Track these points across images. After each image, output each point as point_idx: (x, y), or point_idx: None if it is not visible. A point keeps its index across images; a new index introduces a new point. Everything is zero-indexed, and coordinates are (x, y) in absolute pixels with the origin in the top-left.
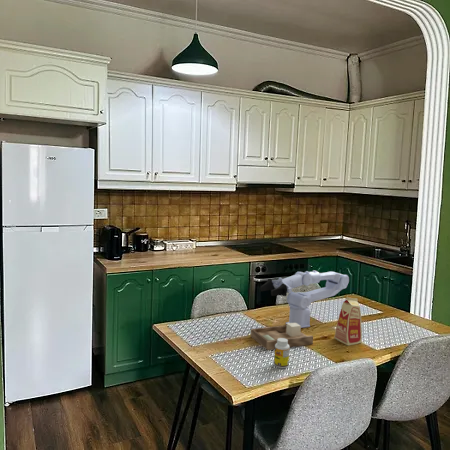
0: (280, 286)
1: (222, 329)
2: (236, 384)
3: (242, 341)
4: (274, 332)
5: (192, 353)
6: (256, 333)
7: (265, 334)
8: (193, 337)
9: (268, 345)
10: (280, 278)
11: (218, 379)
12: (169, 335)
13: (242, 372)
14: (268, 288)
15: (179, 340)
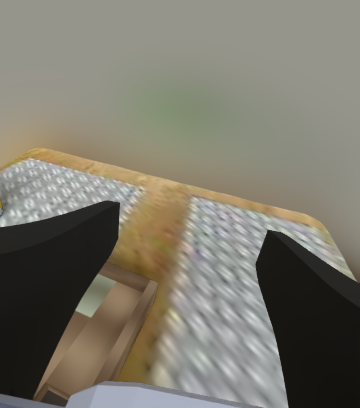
0: (20, 236)
1: (252, 284)
2: (48, 158)
3: (146, 258)
4: (77, 367)
5: (168, 183)
6: (117, 266)
7: (101, 312)
8: (229, 216)
9: None
10: (167, 395)
11: (79, 158)
12: (256, 203)
13: (57, 175)
14: (290, 351)
15: (226, 199)
